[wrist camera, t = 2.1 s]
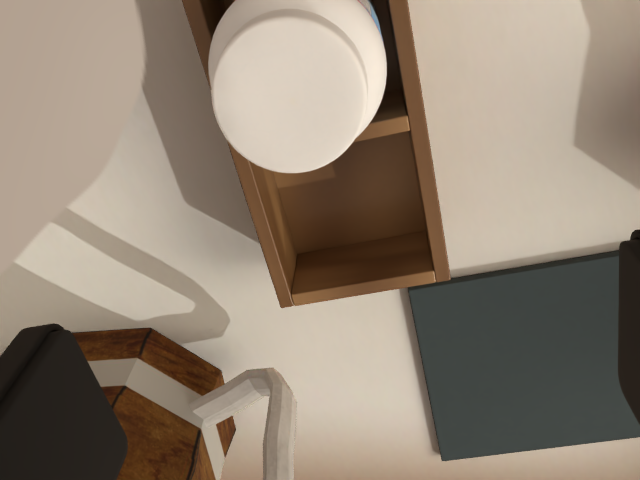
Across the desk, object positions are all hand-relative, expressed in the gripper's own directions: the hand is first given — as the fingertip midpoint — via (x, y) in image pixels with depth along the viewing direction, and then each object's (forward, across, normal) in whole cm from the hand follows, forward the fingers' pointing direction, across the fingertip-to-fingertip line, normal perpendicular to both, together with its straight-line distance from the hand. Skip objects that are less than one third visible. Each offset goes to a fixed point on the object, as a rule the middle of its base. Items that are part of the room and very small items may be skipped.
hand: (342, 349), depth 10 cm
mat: (+21, -9, +20) cm, 30 cm away
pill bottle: (+21, +2, -2) cm, 21 cm away
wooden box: (+21, +2, +2) cm, 21 cm away
